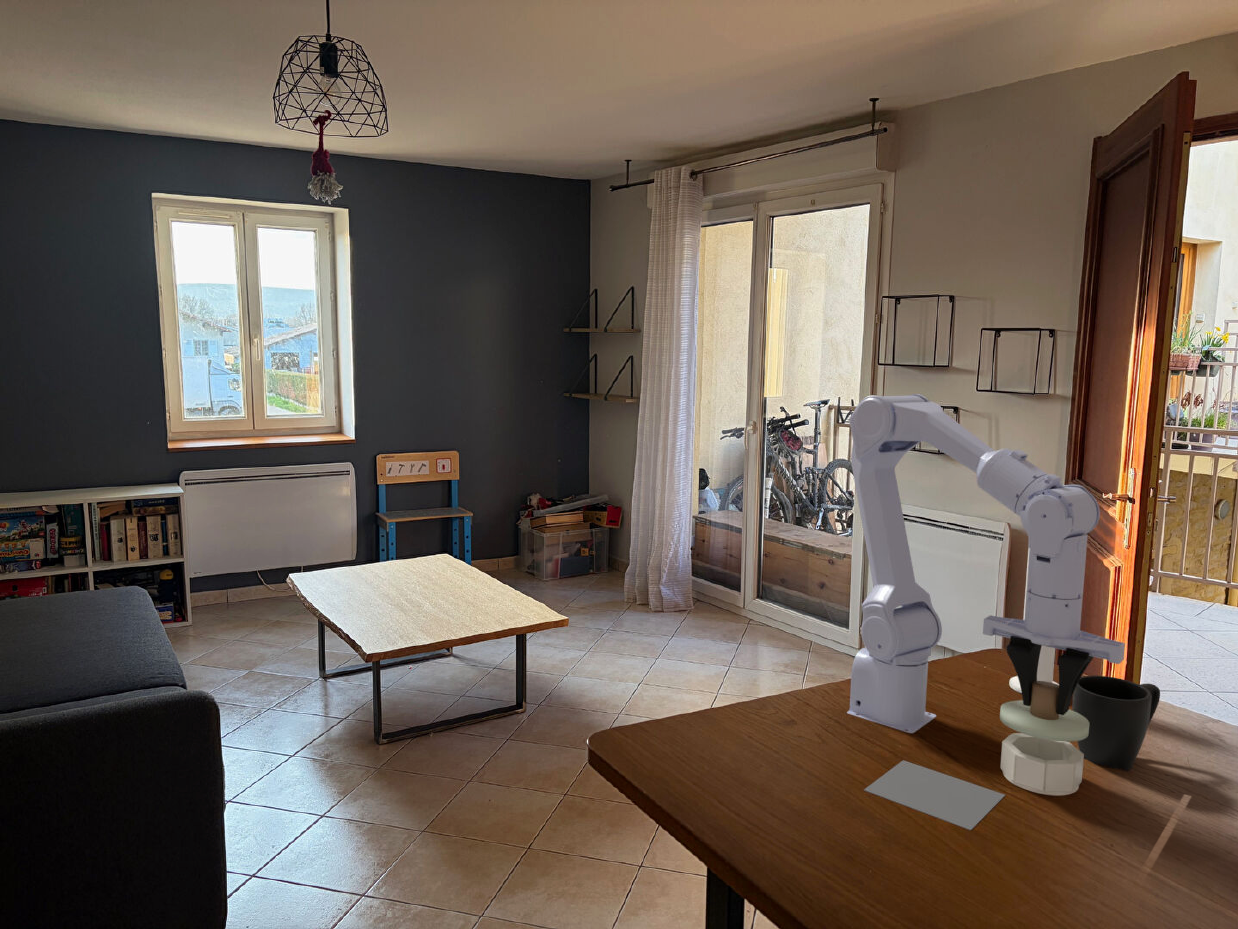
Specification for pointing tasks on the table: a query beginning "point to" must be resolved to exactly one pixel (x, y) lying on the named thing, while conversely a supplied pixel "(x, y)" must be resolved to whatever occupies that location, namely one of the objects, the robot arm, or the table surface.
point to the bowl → (1042, 764)
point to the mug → (1114, 718)
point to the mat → (936, 794)
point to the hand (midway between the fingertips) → (1045, 707)
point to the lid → (1044, 716)
